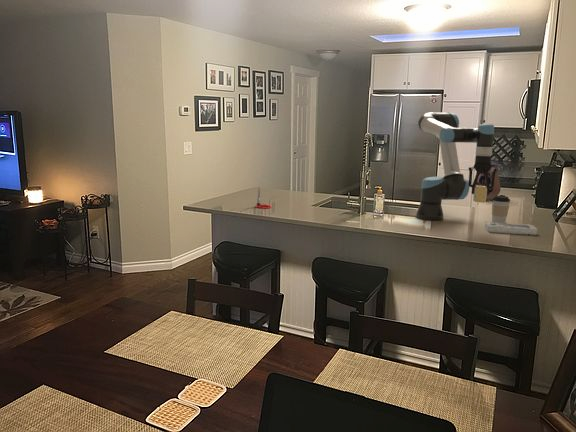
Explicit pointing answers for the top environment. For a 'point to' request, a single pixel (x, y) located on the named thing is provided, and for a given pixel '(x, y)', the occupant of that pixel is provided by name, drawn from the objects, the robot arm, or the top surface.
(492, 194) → the ceramic pitcher
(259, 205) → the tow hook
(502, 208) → the coffee cup
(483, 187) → the yellow rectangular block
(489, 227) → the grey tray
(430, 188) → the robot arm
